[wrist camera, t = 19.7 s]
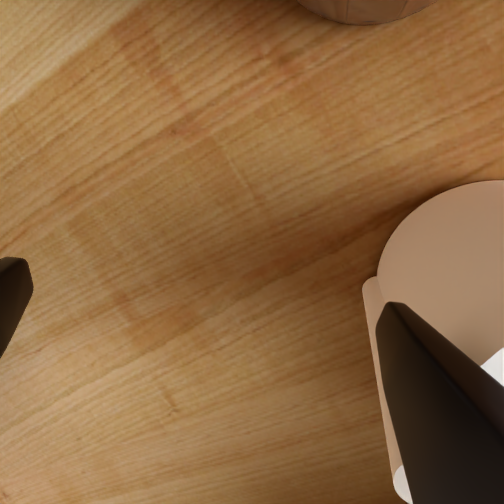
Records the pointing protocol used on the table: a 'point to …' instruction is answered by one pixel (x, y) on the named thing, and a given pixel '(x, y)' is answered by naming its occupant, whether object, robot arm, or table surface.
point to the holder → (365, 10)
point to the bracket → (445, 283)
